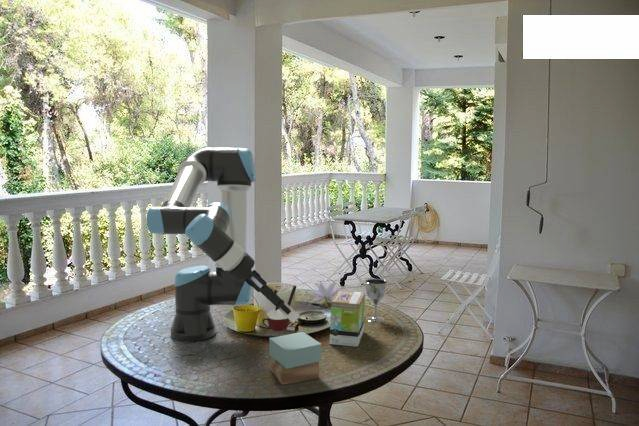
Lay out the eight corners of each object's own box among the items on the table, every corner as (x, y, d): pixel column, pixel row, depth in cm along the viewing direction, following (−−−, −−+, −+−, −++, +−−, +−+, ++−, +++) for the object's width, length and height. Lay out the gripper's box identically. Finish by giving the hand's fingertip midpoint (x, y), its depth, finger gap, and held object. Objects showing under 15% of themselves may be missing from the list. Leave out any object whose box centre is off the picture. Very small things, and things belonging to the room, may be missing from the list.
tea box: (359, 347, 166) (360, 303, 164) (328, 344, 168) (329, 301, 166) (364, 331, 181) (365, 291, 179) (336, 329, 183) (337, 289, 181)
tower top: (269, 354, 147) (269, 338, 147) (302, 347, 153) (303, 331, 152) (286, 368, 138) (286, 351, 137) (321, 361, 143) (321, 343, 143)
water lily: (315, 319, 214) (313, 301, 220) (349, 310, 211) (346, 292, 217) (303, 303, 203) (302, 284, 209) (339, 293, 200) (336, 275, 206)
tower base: (269, 369, 149) (269, 353, 148) (304, 363, 153) (304, 348, 153) (281, 385, 139) (281, 368, 138) (318, 379, 143) (319, 362, 143)
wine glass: (389, 318, 195) (390, 280, 193) (380, 324, 188) (381, 285, 187) (370, 315, 199) (371, 277, 197) (361, 320, 193) (362, 281, 191)
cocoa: (262, 333, 139) (260, 290, 138) (265, 326, 146) (263, 285, 144) (296, 332, 139) (294, 290, 138) (298, 325, 145) (296, 284, 144)
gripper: (219, 264, 144) (274, 315, 151) (231, 280, 126) (293, 337, 134) (238, 245, 145) (292, 296, 152) (253, 258, 127) (313, 315, 135)
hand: (292, 315), depth 143 cm, fingers closed on cocoa, 6 cm apart
